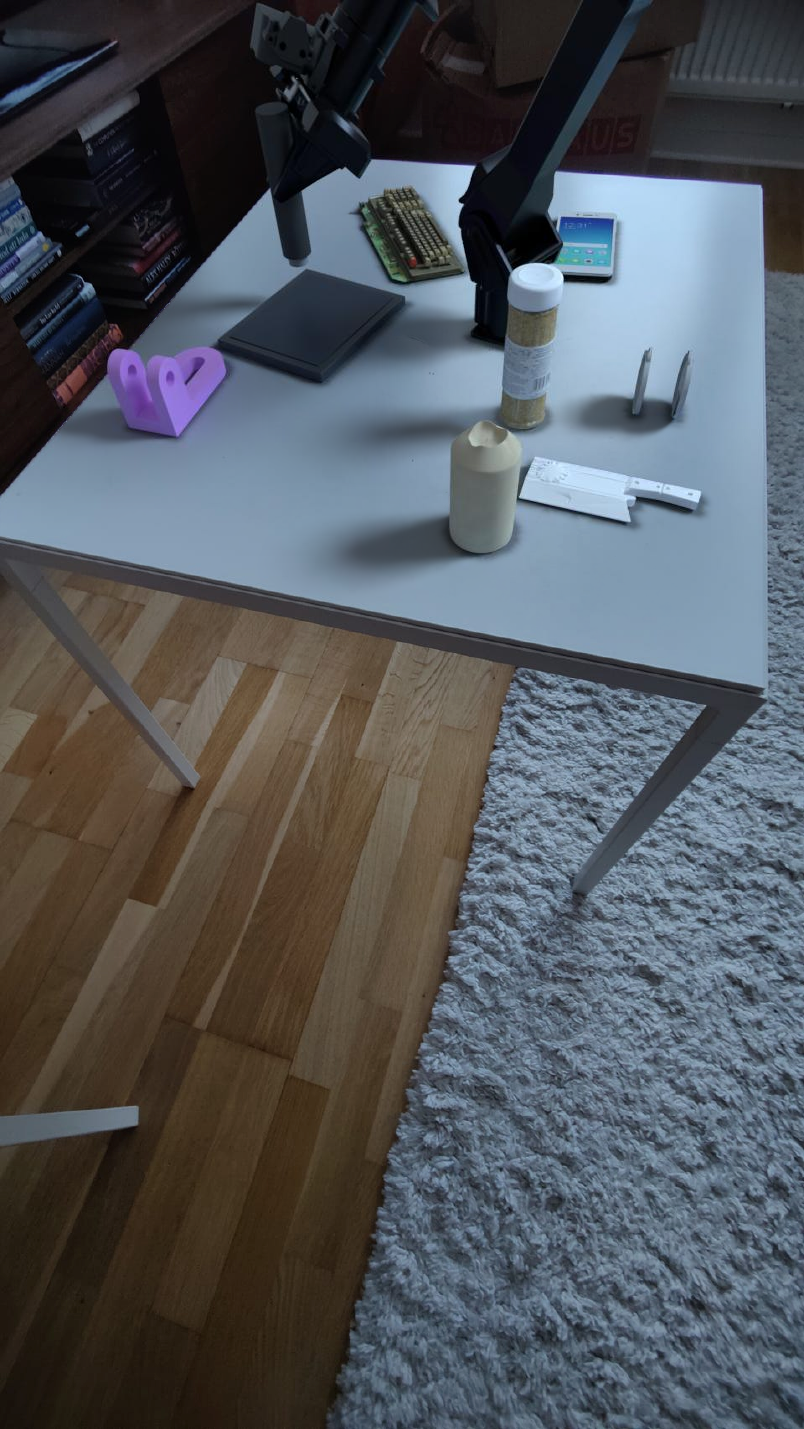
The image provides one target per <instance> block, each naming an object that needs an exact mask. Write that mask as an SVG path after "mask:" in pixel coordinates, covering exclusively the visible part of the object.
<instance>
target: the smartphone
mask: <svg viewBox="0 0 804 1429" xmlns="http://www.w3.org/2000/svg"><path fill="white" fill-rule="evenodd" d="M617 220H618V215H617V213H615V212H602V211H601V212H600V211H599V212H597V211H576V210H575V211H574V210H561V211H559V212H558V216H557V222H556V225H555V227H556V229H557V231H558V233H559V235H560V237H561V239H562V241H563V247H562V250H561V252H560V254H559V256H558V259H557V261H556V262H555V263H553V264H550V265H551V266H554V267H556V268H557V269H559V270H560V271H561V273H562V275H563V280H579V281H595V282H596V281H599V282H609V281H611V280H612V278H613V273H614V264H615V262H614V261H615V248H616V237H617V222H618V221H617Z"/></svg>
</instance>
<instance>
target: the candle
mask: <svg viewBox="0 0 804 1429" xmlns="http://www.w3.org/2000/svg"><path fill="white" fill-rule="evenodd" d="M522 456H523V446H522V444H521V441H520V440H519V439H518V437H517V436H515V434H513V433H512V432H510V431H509V430H508V429H507V428H504V427H501V426H499V425H497V424H495V423H493V422H492V421H490V420H487V419H482V420H479V421H478V422H477V423H475V424H474V425H472V426H471V427H469V428H467V429H465V430H463V431H462V432H461V433H459V434H458V435H457V436H456V437H455V438H454V439H453V441H452V443H451V445H450V460H449V461H450V464H449V465H450V466H449V468H450V471H449V473H450V474H449V522H448V523H449V533H450V537H451V539H452V541H453V542H454V544H455V545H456V546H458V547H459V548H460V549H462V550H464V551H467V552H470V553H475V554H488V553H492V552H495V551H498V550H500V549H502V548H504V547H505V546H506V545H507V544H508V543H509V541H510V540H511V538H512V535H513V532H514V523H515V516H516V509H517V508H516V507H517V498H518V490H519V482H520V472H521V463H522Z"/></svg>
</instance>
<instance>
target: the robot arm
mask: <svg viewBox="0 0 804 1429" xmlns="http://www.w3.org/2000/svg"><path fill="white" fill-rule="evenodd" d="M653 1H654V0H581V1H580V3H579V5H578V6H577V9H576V11H575V13H574V15H573V17H572V19H571V21H570V23H569V25H568V27H567V30H566V31H565V33H564V35H563V37H562V40H561V42H560V44H559V46H558V48H557V50H556V52H555V54H554V56H553V58H552V61H551V62H550V65H549V67H548V68H547V70H546V73H545V75H544V77H543V79H542V81H541V83H540V85H539V87H538V88H537V91H536V93H535V95H534V97H533V99H532V101H531V103H530V106H529V108H528V109H527V112H526V114H525V116H524V118H523V120H522V122H521V123H520V125H519V128H518V130H517V132H516V134H515V136H514V138H513V140H512V142H511V144H509V145H507V146H505V147H504V148H502V149H500V150H498V151H496V152H495V153H493V154H491V155H489V156H488V157H485V158H483V159H481V160H479V161H478V162H477V163H476V165H475V167H474V168H473V170H472V173H471V176H470V179H469V183H468V186H467V188H466V189H465V191H464V193H463V194H462V195H461V196H460V197H459V198H458V203H459V204H460V205H462V207H461V208H460V210H459V214H458V221H457V222H458V223H457V225H458V228H459V229H460V237H461V242H462V246H463V251H464V256H465V261H466V265H467V266H466V267H467V270H468V275H469V280H470V281H471V283H474V284H475V289H474V310H473V312H474V313H473V322H474V323H475V324H476V325H475V326H474V327H473V328H472V329H471V330H470V333H469V334H470V338H472V339H476V340H479V341H482V342H486V343H489V344H492V345H496V346H500V347H503V348H505V338H506V332H507V323H508V310H509V305H508V304H509V301H508V298H507V295H508V283H509V276H510V274H511V273H512V271H513V270H515V269H516V268H518V267H519V266H522V265H525V264H531V263H543V264H548V265H550V264H553V263H555V262H556V261H557V259H558V256H559V254H560V252H561V250H562V247H563V241H562V239H561V237H560V235H559V233H558V231H557V229H556V225H555V223H554V221H553V219H552V217H551V215H550V214H549V209H550V207H551V204H552V200H553V198H554V191H555V188H554V187H555V175H556V172H557V170H558V167H559V165H560V163H561V162H562V161H563V158H564V157H565V155H566V153H567V151H568V149H569V148H570V146H571V144H572V142H573V141H574V139H575V137H576V135H577V134H578V132H579V131H580V129H581V127H582V125H583V124H584V122H585V120H586V118H587V116H588V115H589V113H590V111H591V109H592V108H593V105H594V104H595V102H596V100H597V99H598V98H599V95H600V94H601V91H602V90H603V88H604V86H605V85H606V83H607V81H608V79H609V77H610V76H611V74H612V72H613V70H614V69H615V67H616V65H617V63H618V62H619V60H620V58H621V57H622V55H623V54H624V51H625V49H626V48H627V46H628V44H629V42H630V40H631V39H632V37H633V35H634V33H636V30H637V28H638V27H639V25H640V24H641V22H642V20H643V18H644V16H645V14H646V13H647V11H648V10H649V7H650V6H651V4H652V3H653ZM418 7H419V9H420V10H421V11H422V12H423V13H424V14H425V15H426V16H427V17H428V19H429V20H430V21H432V22H433V23H434V22H435V23H436V22H437V21H438V20H439V18H440V12H439V2H438V0H339V3H338V5H337V7H336V9H335V10H334V12H333V14H332V16H331V14H330V13H329V12H327V11H325V13H321V15H320V16H319V17H318V19H317V21H316V24H315V25H311V24H310V23H307V21H306V19H304V17H302V16H298V17H296V16H295V15H293V14H292V13H291V12H290V11H289V10H286V11H285V12H282V11H280V10H277V9H275V8H273V7H270V6H268V5H265V4H263V3H260V2H257V3H256V4H255V12H254V17H253V25H252V32H251V38H250V44H249V48H250V50H252V51H254V56H255V58H256V59H257V60H258V61H260V62H261V63H262V64H265V65H267V66H270V67H269V71H270V73H271V74H272V76H273V78H275V79H276V80H277V82H280V83H281V81H282V82H283V83H284V84H285V85H286V87H285V90H284V91H283V92H282V90H280V89H279V88H278V87H276V88H275V94H276V98H277V102H281V103H285V104H287V106H288V110H289V116H290V122H291V129H292V135H293V144H292V146H291V149H290V151H289V154H288V156H287V159H286V161H285V164H284V166H283V169H282V171H281V174H280V176H279V179H278V182H277V185H276V187H275V190H274V193H273V197H274V199H276V200H277V201H278V202H279V203H284V202H285V201H287V200H288V199H290V198H292V197H293V196H295V195H296V194H298V193H299V192H301V191H302V192H303V191H304V190H306V189H307V188H308V187H310V186H312V185H313V184H315V183H316V182H318V181H320V180H322V179H323V178H325V177H327V176H329V175H331V174H332V173H334V172H336V171H337V170H339V169H340V170H344V169H347V171H349V172H350V173H351V174H352V175H353V176H354V177H356V178H357V179H358V180H360V179H361V178H362V177H363V175H364V173H365V172H366V170H367V168H368V167H369V165H370V163H371V162H372V151H371V144H370V142H369V140H368V139H367V137H366V136H365V135H364V133H363V132H362V131H361V129H360V128H358V125H359V123H360V121H361V119H360V118H359V116H358V115H357V111H358V110H359V108H360V106H361V105H362V102H363V101H364V100H365V98H366V95H367V94H368V92H369V91H370V89H371V87H372V85H373V84H374V83H375V84H376V85H377V86H378V87H381V85H382V84H383V82H384V80H385V79H386V77H387V75H386V74H385V73H384V72H383V70H382V68H383V66H384V65H385V63H386V61H387V60H388V58H389V56H390V54H391V53H392V51H393V49H394V48H395V46H396V44H397V43H398V40H399V39H400V37H401V36H402V34H403V32H404V31H405V29H406V27H407V25H408V23H409V22H410V20H411V19H412V17H413V16H414V13H415V12H416V9H417V8H418ZM266 184H267V185H268V186H269V187H270V185H269V180H268V176H267V177H266Z"/></svg>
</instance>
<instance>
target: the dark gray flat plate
mask: <svg viewBox="0 0 804 1429" xmlns="http://www.w3.org/2000/svg"><path fill="white" fill-rule="evenodd" d="M405 306H406V296H405V295H403V294H399V293H396V292H392V291H388V290H385V289H381V288H379V287H378V288H377V287H374V286H370V285H367V284H362V283H360V282H356V281H352V280H349V279H345V278H341V277H338V276H334V275H331V274H327V273H323V272H320V271H316V270H313V269H309V268H305V269H304V270H303V271H301V272H300V273H299V274H298V275H296V276H295V277H294V278H293V279H292V280H290V281H289V282H288V283H286V284H284V285H283V287H281V288H280V289H278V290H277V291H276V292H275V293H274V294H273V295H271V296H270V297H268V298H267V299H266V300H265V301H264V302H263V303H261V304H260V305H259V306H257V307H256V308H255V309H253V311H251V312H250V313H249V314H247V315H246V316H244V317H243V318H242V319H241V320H240V321H239V322H237V323H236V324H235V325H234V326H232V327H231V328H230V329H228V330H227V331H226V332H225V333H224V334H223V335H221V336H220V337H219V338H218V339H217V344H218V347H219V349H222V350H225V351H227V352H231V353H233V354H236V355H239V356H242V357H245V358H249V359H251V360H254V361H257V362H260V363H263V364H266V365H269V366H272V367H275V368H277V369H281V370H284V371H287V372H290V373H292V374H296V375H298V376H302V377H305V378H308V379H311V380H313V381H316V382H320V383H324V381H326V380H327V379H328V378H329V377H330V376H331V375H332V374H333V373H335V371H336V370H337V369H338V368H339V367H340V366H342V364H344V363H345V362H346V361H347V360H348V359H349V358H351V356H352V355H354V354H355V353H356V352H357V351H358V350H359V349H360V348H361V347H362V346H363V345H364V344H365V343H366V342H367V341H368V340H370V339H371V338H372V337H373V336H374V335H375V334H376V333H377V332H378V331H379V330H380V329H381V328H383V326H385V325H386V324H387V323H388V322H389V321H390V320H391V319H392V318H393V317H394V316H395V315H397V313H398V312H400V310H402V308H404V307H405Z"/></svg>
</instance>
